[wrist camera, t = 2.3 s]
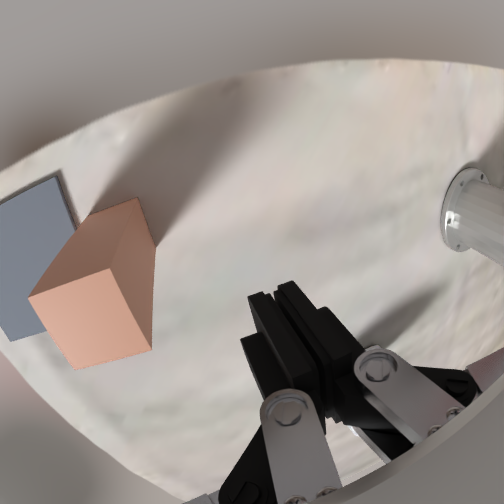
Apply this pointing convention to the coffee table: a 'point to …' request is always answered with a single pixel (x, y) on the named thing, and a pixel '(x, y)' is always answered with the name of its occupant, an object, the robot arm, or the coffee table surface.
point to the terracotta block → (101, 288)
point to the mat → (29, 252)
